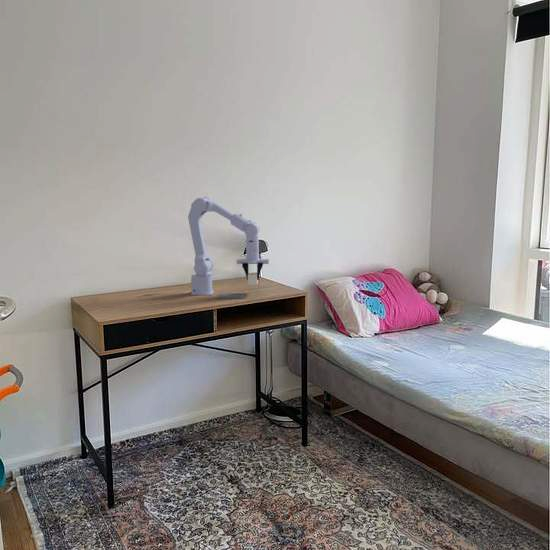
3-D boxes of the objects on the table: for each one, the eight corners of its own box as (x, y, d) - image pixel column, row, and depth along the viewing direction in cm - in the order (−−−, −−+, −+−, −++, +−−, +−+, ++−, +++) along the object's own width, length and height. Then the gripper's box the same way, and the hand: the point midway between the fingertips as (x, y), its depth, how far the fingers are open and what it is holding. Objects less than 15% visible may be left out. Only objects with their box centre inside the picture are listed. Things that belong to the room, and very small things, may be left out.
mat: (217, 298, 242) (217, 297, 242) (219, 294, 251) (219, 293, 250) (244, 298, 241) (244, 297, 241) (245, 293, 250) (245, 293, 250)
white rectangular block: (247, 284, 244) (247, 274, 244) (249, 281, 253) (249, 271, 252) (256, 284, 244) (256, 274, 243) (258, 281, 253) (257, 271, 252)
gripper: (235, 251, 242) (236, 281, 245) (268, 251, 242) (268, 281, 244) (237, 249, 249) (237, 278, 251) (268, 248, 248) (269, 278, 251)
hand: (253, 279), depth 248 cm, fingers closed on white rectangular block, 4 cm apart
